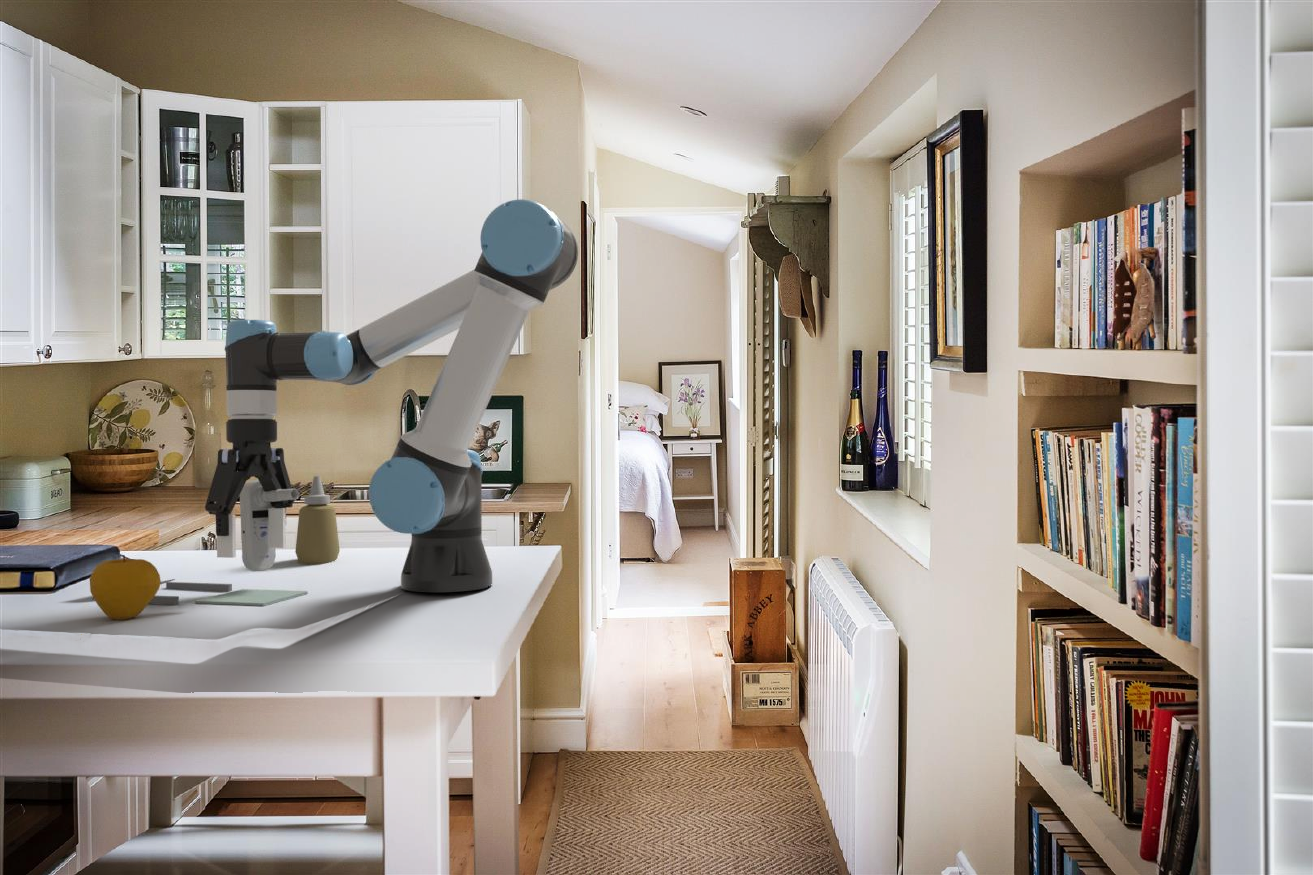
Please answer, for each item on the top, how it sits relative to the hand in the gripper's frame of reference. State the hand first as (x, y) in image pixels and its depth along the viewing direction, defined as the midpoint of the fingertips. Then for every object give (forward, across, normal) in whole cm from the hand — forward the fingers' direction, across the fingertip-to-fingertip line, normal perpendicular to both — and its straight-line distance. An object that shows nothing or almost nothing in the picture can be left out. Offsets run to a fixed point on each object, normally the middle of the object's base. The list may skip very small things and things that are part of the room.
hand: (252, 552), depth 161 cm
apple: (+8, +19, -8) cm, 22 cm away
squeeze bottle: (+7, -32, -8) cm, 34 cm away
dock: (+7, +1, -14) cm, 16 cm away
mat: (+7, 0, 0) cm, 7 cm away
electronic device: (+4, -5, +1) cm, 6 cm away
